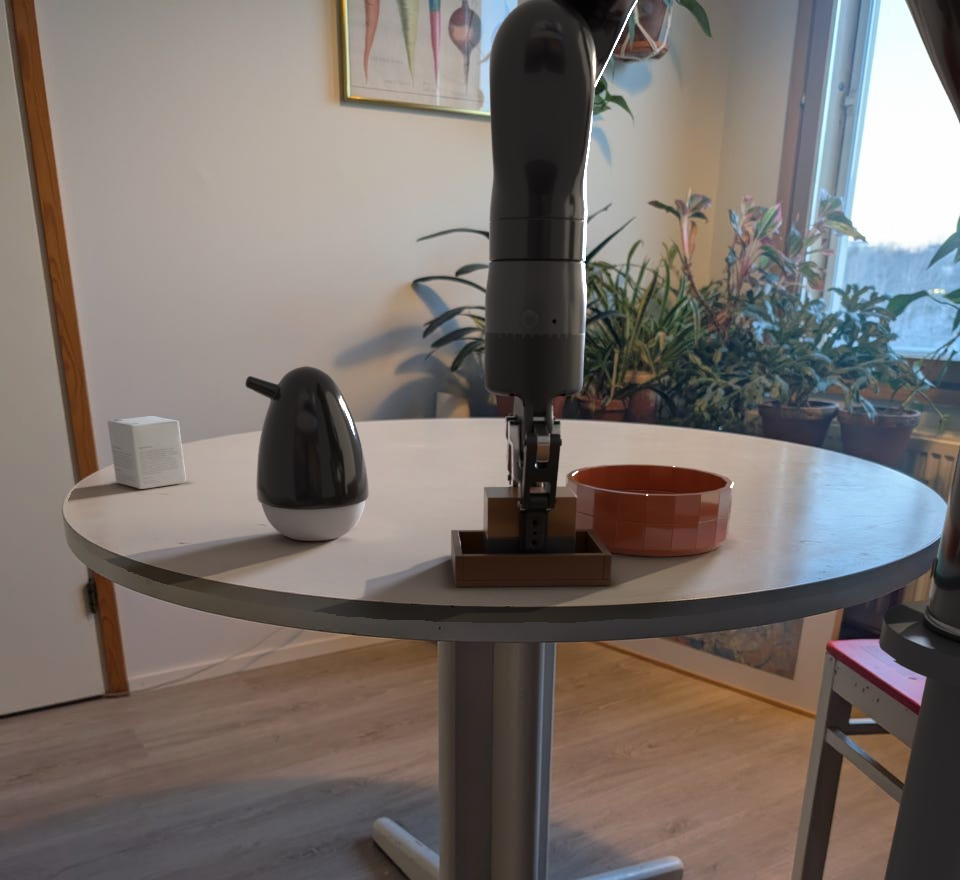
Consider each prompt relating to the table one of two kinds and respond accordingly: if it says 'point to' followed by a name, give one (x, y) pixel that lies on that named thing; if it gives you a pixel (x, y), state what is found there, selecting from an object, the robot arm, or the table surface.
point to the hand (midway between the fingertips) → (528, 548)
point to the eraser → (505, 521)
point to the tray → (529, 563)
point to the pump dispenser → (309, 457)
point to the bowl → (653, 508)
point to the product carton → (147, 451)
